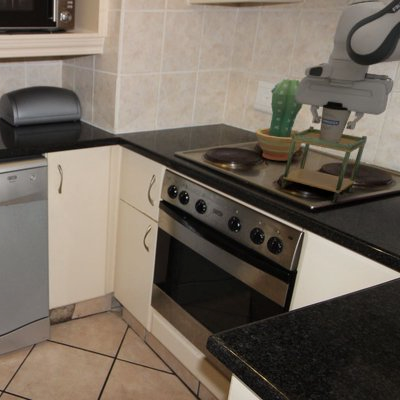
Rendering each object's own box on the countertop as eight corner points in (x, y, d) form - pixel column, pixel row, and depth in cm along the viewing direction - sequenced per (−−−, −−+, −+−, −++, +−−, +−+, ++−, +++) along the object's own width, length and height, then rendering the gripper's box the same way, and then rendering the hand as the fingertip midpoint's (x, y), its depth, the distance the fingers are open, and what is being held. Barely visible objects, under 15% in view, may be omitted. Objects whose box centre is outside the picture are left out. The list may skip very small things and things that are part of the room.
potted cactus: (304, 153, 161) (318, 78, 152) (302, 165, 148) (318, 83, 139) (254, 148, 168) (265, 75, 159) (249, 159, 155) (260, 81, 146)
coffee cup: (328, 135, 129) (337, 98, 125) (350, 142, 123) (361, 103, 119) (308, 137, 127) (317, 99, 123) (330, 144, 121) (340, 104, 117)
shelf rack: (351, 191, 130) (367, 136, 124) (336, 202, 122) (352, 144, 116) (298, 178, 139) (310, 126, 133) (280, 187, 132) (292, 133, 126)
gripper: (399, 75, 113) (382, 131, 119) (308, 66, 127) (297, 117, 133) (391, 77, 109) (374, 136, 115) (299, 67, 123) (287, 120, 129)
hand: (332, 125), depth 124 cm, fingers closed on coffee cup, 7 cm apart
